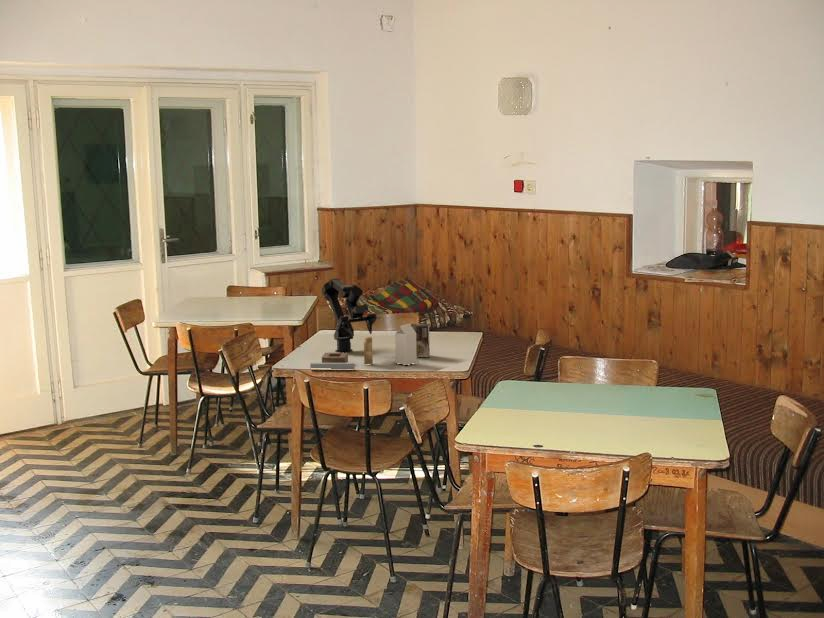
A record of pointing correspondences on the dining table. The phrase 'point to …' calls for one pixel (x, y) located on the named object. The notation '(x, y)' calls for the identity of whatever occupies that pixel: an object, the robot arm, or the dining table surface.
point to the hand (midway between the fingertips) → (362, 334)
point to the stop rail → (333, 365)
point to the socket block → (335, 358)
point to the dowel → (368, 350)
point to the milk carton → (405, 345)
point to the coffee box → (422, 339)
